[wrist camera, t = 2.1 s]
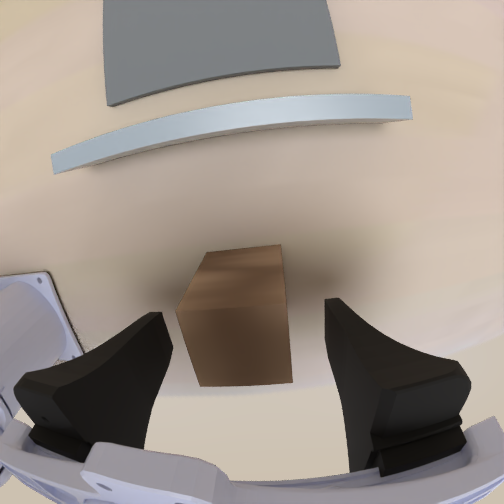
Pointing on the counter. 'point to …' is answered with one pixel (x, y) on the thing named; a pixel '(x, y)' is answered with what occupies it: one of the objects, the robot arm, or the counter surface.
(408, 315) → the counter surface
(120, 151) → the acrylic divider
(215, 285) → the walnut block
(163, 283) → the counter surface
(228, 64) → the resting mat
